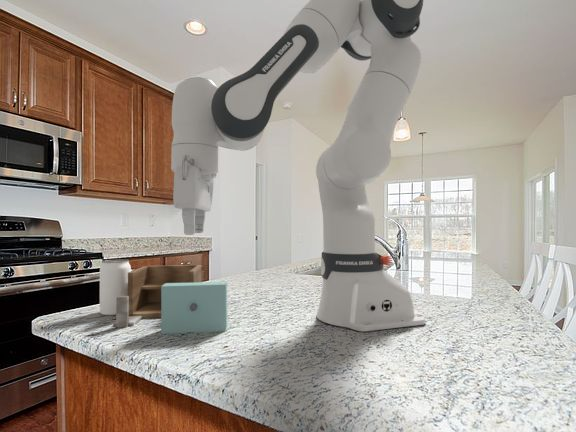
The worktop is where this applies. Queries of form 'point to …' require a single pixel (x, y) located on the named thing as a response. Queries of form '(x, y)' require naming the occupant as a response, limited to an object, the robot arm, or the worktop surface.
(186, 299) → the door
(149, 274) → the cabinet
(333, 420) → the worktop surface
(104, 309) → the can
